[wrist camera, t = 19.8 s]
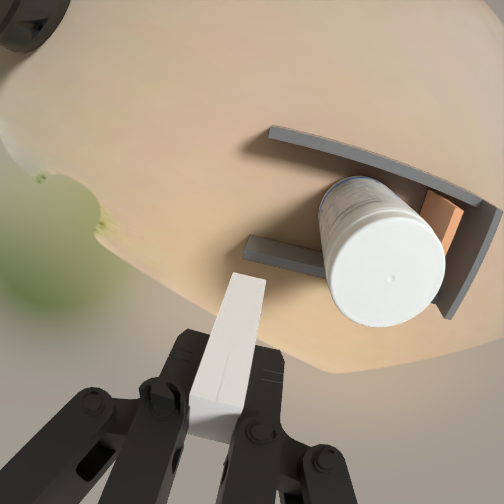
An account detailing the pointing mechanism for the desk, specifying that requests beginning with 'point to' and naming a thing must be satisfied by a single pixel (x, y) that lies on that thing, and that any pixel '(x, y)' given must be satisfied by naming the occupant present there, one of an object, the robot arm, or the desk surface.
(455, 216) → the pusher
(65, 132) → the desk surface
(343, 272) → the supplement tub
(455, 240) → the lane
